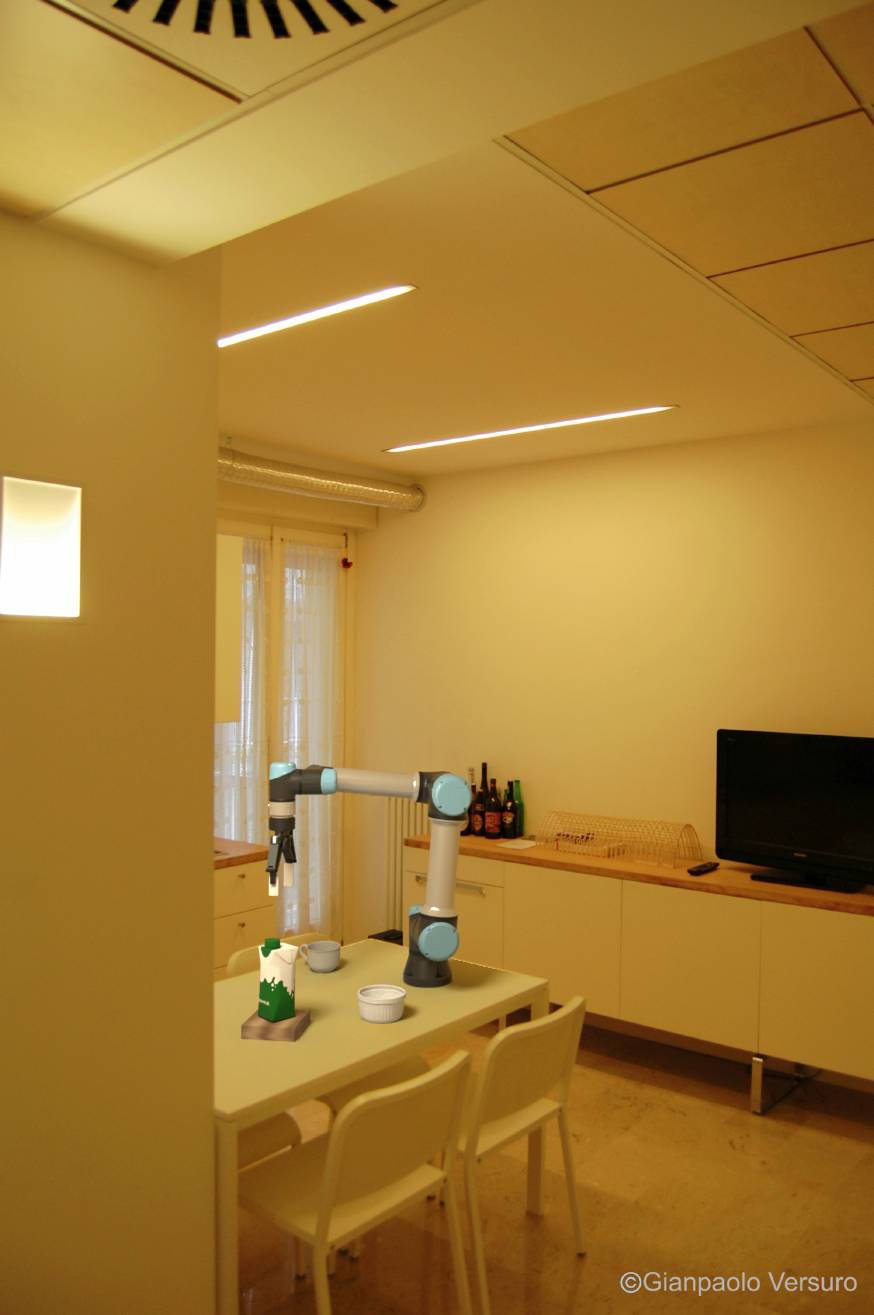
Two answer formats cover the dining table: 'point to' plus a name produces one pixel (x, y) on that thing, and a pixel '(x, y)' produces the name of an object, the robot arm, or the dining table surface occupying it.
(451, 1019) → the dining table surface
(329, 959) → the teacup
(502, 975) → the dining table surface
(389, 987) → the ramekin
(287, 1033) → the plinth
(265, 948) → the soya milk
